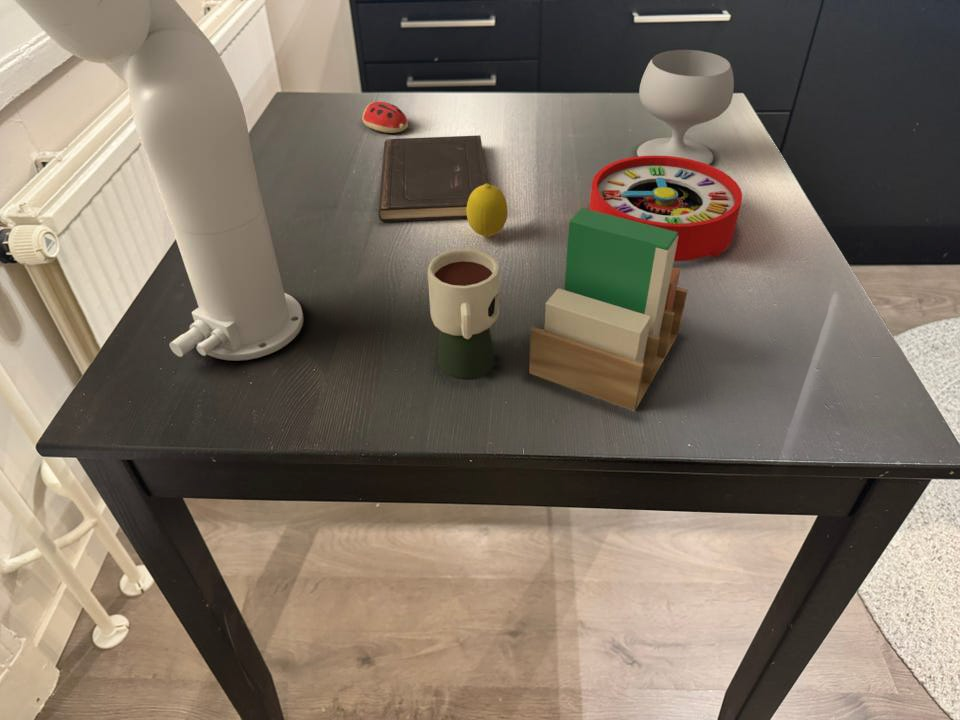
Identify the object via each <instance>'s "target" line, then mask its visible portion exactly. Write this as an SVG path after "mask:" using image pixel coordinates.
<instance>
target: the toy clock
mask: <svg viewBox="0 0 960 720" xmlns="http://www.w3.org/2000/svg"><path fill="white" fill-rule="evenodd" d="M742 202H743V193H742V189H741V187H740V185H739V184H738V183H737V181H735V179H733V177H731V176H730V175H728V174H727V173H725V171H722V169H721V170H720V169H718V168H717V167H715V166H712V165H711V164H709V165H707V164H705V163H702V162H698V161H695V160H691V159H686V158H681V157H673V156H658V155H651V156H638V155H636V156H630V157H627V158H622V159H618V160H616V161H613V162H610V163H609V164H607V165H604V166H603V167H602V168H601V169H599V170H598V171H597V172H596V173H595V174H594V176H593V177H592V181H591V189H590V200H589V207H588V208H589V209H588V210H592V211H596V212H600V213H604V214H608V215H612V216H616V217H620V218H624V219H627V220H631V221H635V222H639V223H643V224H647V225H651V226H655V227H659V228H663V229H667V230H671V231H675V232H678V235H677V236H678V241H677V247H676V252H675V257H674V262H677V261H678V262H679V261H690V260H691V261H692V260H697V259H701V258H705V257H713V258H716V257H718V256H719V255H721V254H722V253H724V252H725V251H727V249H728V248H729V247H730V246H731V243H732V241H733V239H734V235H735V232H736V231H735V230H736V227H737V222H738V219H739V214H740V211H741V206H742Z"/></svg>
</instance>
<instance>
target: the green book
mask: <svg viewBox="0 0 960 720" xmlns="http://www.w3.org/2000/svg"><path fill="white" fill-rule="evenodd" d="M568 222H569V223H568V235H567V245H566V246H567V248H566V260H565V274H564V286H563V287H564V288H563V290H566V291H569V292H573V293H576V294H579V295H582V296H586V297H589V298H592V299H596V300H599V301H602V302H605V303H609V304H612V305H615V306H619V307H622V308H625V309H628V310H632V311H635V312H638V313H642V314H645V315H648V316H651V321H650V326H649V332H648V333H649V334H652V335H655V336H659V335H660V329H661V324H662V319H663V314H664V309H665V304H666V298H667V293H668V288H669V283H670V278H671V272H672V267H673V268H674V262H675V261H674V257H675V252H676V247H677V241H678V236H677V235H678V232H675V231H671V230H667V229H663V228H659V227H655V226H651V225H647V224H643V223H639V222H635V221H631V220H627V219H624V218H620V217H616V216H612V215H608V214H604V213H600V212H596V211H592V210H589V209H588V208H584V207H581V208H580V209H579V210H578V211H577V212H576V213H575V214H574V215H573V216H572V218H570V219H569V221H568Z"/></svg>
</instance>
